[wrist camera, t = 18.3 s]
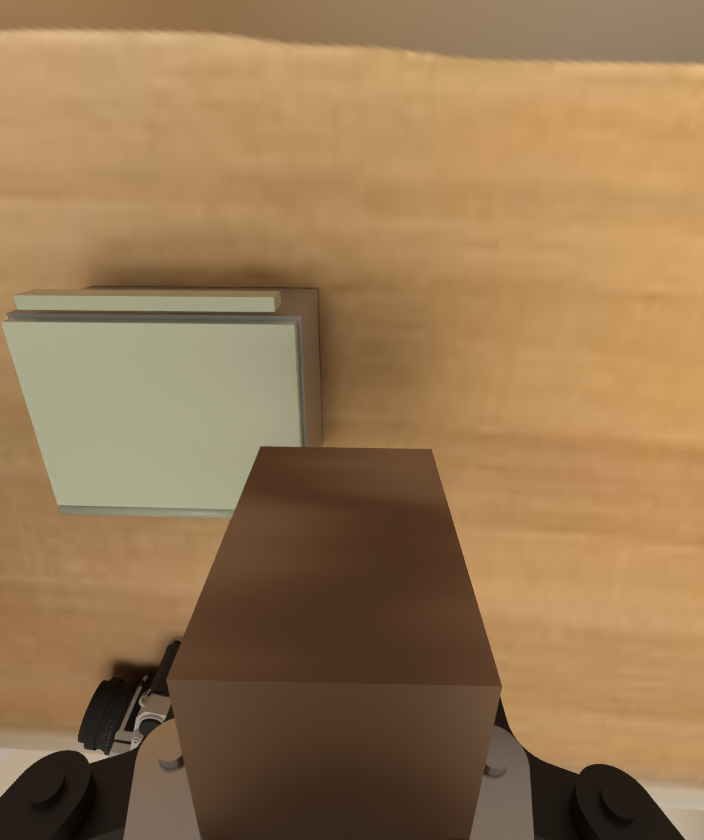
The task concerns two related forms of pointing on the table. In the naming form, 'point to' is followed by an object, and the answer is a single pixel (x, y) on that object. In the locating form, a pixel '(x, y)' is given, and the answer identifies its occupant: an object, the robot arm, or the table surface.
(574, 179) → the table surface
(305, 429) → the box
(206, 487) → the lid
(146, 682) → the camera
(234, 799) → the brown rectangular block
